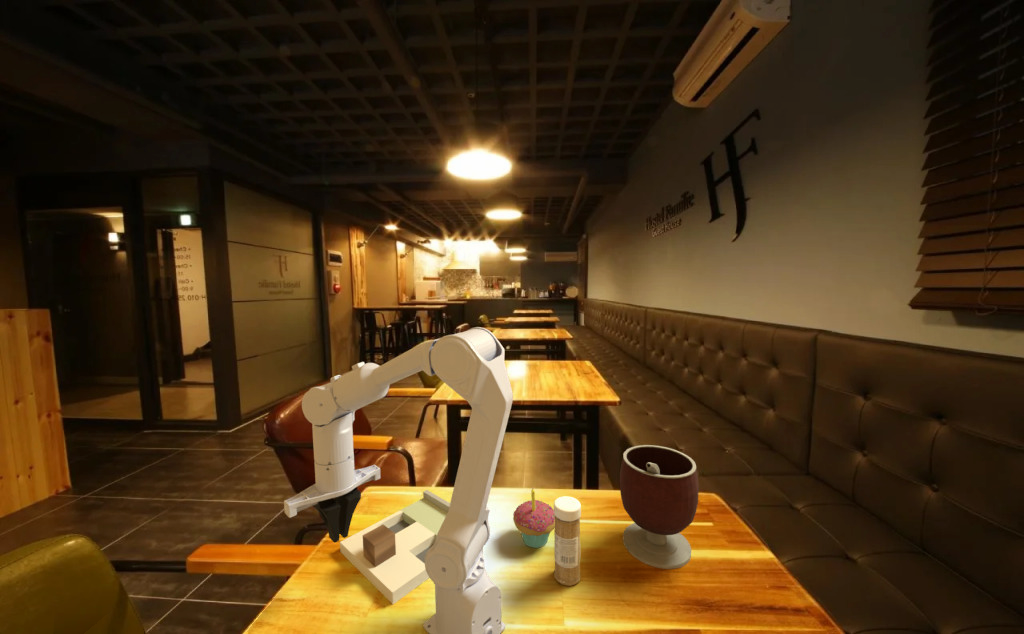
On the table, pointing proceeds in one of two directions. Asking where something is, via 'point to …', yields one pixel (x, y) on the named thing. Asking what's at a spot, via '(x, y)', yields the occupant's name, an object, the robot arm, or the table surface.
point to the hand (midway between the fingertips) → (338, 536)
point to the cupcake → (534, 521)
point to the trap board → (401, 547)
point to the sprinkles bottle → (567, 540)
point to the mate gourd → (658, 504)
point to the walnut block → (379, 545)
